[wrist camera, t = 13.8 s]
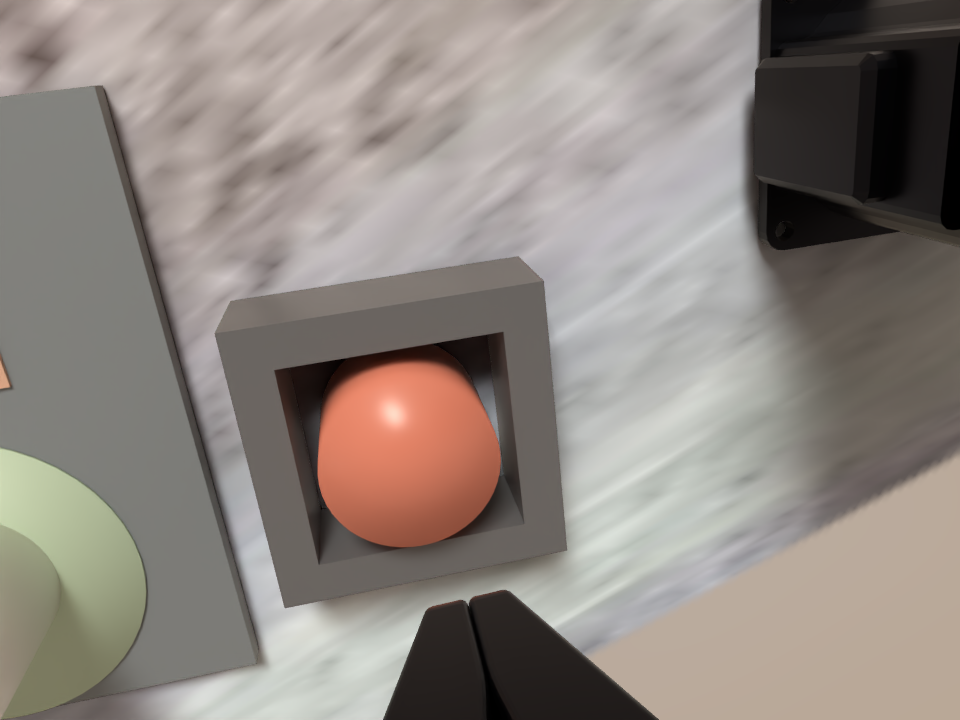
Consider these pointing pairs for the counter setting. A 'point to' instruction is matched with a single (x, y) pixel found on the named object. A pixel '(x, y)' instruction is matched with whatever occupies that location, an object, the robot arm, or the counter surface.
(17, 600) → the cream cylinder
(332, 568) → the button housing
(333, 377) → the button
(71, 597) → the picture board
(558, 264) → the counter surface
